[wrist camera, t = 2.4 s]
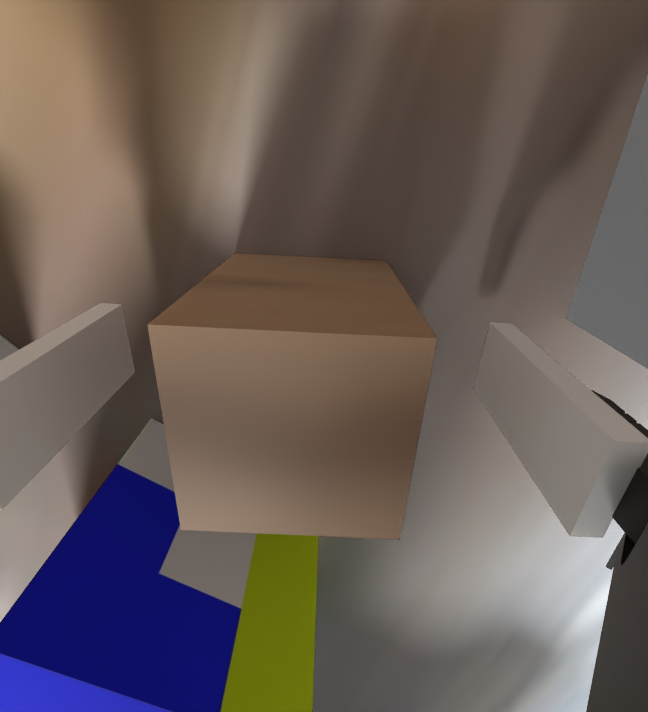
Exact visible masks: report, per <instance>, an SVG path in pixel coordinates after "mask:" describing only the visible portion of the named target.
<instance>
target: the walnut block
mask: <svg viewBox="0 0 648 712" xmlns="http://www.w3.org/2000/svg"><path fill="white" fill-rule="evenodd" d="M147 326H148V332H149V338H150V344H151V350H152V356H153V362H154V368H155V375H156V381H157V387H158V393H159V399H160V405H161V411H162V417H163V423H164V430H165V436H166V442H167V448H168V454H169V460H170V466H171V472H172V479H173V485H174V491H175V497H176V503H177V509H178V515H179V521H180V527H181V530H195V531H217V532H240V533H262V534H285V535H307V536H330V537H352V538H375V539H397V540H399V539H400V534H401V528H402V523H403V518H404V513H405V507H406V502H407V497H408V491H409V486H410V481H411V476H412V470H413V465H414V460H415V454H416V449H417V444H418V439H419V433H420V428H421V423H422V417H423V412H424V407H425V402H426V396H427V391H428V386H429V380H430V375H431V370H432V365H433V359H434V354H435V349H436V343H437V337H436V336H435V334H434V333H433V331H432V330H431V328H430V327H429V325H428V323H427V322H426V320H425V319H424V317H423V316H422V314H421V313H420V311H419V310H418V308H417V307H416V305H415V304H414V302H413V301H412V299H411V298H410V296H409V295H408V293H407V292H406V290H405V289H404V287H403V286H402V284H401V282H400V281H399V279H398V278H397V276H396V275H395V273H394V272H393V270H392V269H391V267H390V266H389V264H388V263H387V261H384V260H364V259H344V258H323V257H303V256H283V255H263V254H243V253H234V254H233V255H232V256H231V257H229V258H228V259H227V260H226V261H224V262H223V263H222V264H221V265H220V266H218V267H217V268H216V269H215V270H213V271H212V272H211V273H210V274H209V275H207V276H206V277H205V278H204V279H202V280H201V281H200V282H199V283H198V284H196V285H195V286H194V287H193V288H191V289H190V290H189V291H188V292H187V293H185V294H184V295H183V296H182V297H180V298H179V299H178V300H177V301H175V302H174V303H173V304H172V305H171V306H169V307H168V308H167V309H166V310H164V311H163V312H162V313H161V314H160V315H158V316H157V317H156V318H155V319H153V320H152V321H151V322H150V323H149V324H147Z"/></svg>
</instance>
